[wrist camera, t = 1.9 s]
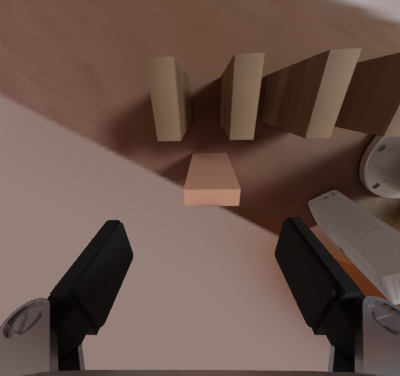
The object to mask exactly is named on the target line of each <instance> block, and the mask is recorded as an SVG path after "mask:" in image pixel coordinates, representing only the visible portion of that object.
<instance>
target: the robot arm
mask: <svg viewBox="0 0 400 376" xmlns="http://www.w3.org/2000/svg"><path fill="white" fill-rule="evenodd" d="M359 176H360V180H361V182H362V184H363V186H364V187H365V188H366V189H367V190H369V191H371V192H372V193H374V194H376V195H378V196H381V197H385V198H400V137H381V136H377V135H376V136H375V137H374V139H373V140H372V141H371V143H370V144H369V146H368V147H367V149H366V151H365V153H364V155H363V157H362V159H361V163H360V168H359ZM275 257H276V260H277V262H278V264H279V266H280V268H281V270H282V273H283V275H284V277H285V279H286V281H287V283H288V285H289V288H290V289H291V292H292V294H293V296H294V298H295V300H296V302H297V305H298V307H299V309H300V311H301V313H302V315H303V318H304V320H305V322H306V324H307V325H308V326H309V327H311V328H312V330H313V332H314V334H315V335H326V336H327V338H328V340H329V342H330V343H331V347H330V356H329V364H328V372H321V371H320V372H319V371H254V370H253V371H252V370H250V371H249V370H245V371H244V370H85V365H84V357H83V350H82V342H83V340H84V338H85V335H97V333H98V331H99V329H100V327H102V326H103V325H104V324H105V322H106V319H107V317H108V314H109V312H110V310H111V308H112V305H113V303H114V301H115V299H116V296H117V294H118V292H119V289H120V287H121V285H122V282H123V280H124V278H125V275H126V273H127V271H128V269H129V266H130V264H131V262H132V259H133V252H132V249H131V246H130V243H129V240H128V237H127V234H126V231H125V228H124V225H123V223H120V221H119V220H108V221H106V223H105V224H104V225H103V226H102V228H101V229H100V230H99V231H98V233H97V234H96V235H95V237H94V238H93V239H92V240H91V242H90V243H89V244H88V246H87V247H86V248H85V249H84V251H83V252H82V253H81V254H80V256H79V257H78V258H77V260H76V261H75V262H74V263H73V265H72V266H71V267H70V268H69V270H68V271H67V272H66V274H65V275H64V276H63V277H62V279H61V280H60V281H59V283H58V284H57V285H56V286H55V288H54V289H53V290H52V292H51V293H50V296H49V297H48V298H47V299H46V298H38V299H34V300H31V301H29V302H27V303H25V304H24V305H22V306H21V307H19V308H18V309H16V310H15V311H14V312H13V313H11V315H10V316H9V317H8V318H7V319H6V320H5V321H4V322H3V324H2V325H1V327H0V376H400V308H398V307H397V306H396V305H394V304H392V303H390V302H389V301H387V300H384V299H382V298H379V297H374V296H370V297H365V296H364V294H363V293H362V291H361V290H360V289H359V288H358V286H357V285H356V284H355V283H354V281H353V280H352V279H351V278H350V277H349V275H348V274H347V273H346V272H345V271H344V270H343V268H342V267H341V266H340V265H339V264H338V262H337V261H336V260H335V259H334V258H333V256H332V255H331V254H330V253H329V252H328V250H327V249H326V248H325V247H324V246H323V244H322V243H321V242H320V241H319V240H318V238H317V237H316V236H315V235H314V234H313V232H312V231H311V230H310V229H309V228H308V226H307V225H306V224H305V223H304V222H303V220H302V219H301V218H299V217H289V218H287V220H284V222H283V226H282V229H281V233H280V236H279V240H278V243H277V246H276V250H275Z"/></svg>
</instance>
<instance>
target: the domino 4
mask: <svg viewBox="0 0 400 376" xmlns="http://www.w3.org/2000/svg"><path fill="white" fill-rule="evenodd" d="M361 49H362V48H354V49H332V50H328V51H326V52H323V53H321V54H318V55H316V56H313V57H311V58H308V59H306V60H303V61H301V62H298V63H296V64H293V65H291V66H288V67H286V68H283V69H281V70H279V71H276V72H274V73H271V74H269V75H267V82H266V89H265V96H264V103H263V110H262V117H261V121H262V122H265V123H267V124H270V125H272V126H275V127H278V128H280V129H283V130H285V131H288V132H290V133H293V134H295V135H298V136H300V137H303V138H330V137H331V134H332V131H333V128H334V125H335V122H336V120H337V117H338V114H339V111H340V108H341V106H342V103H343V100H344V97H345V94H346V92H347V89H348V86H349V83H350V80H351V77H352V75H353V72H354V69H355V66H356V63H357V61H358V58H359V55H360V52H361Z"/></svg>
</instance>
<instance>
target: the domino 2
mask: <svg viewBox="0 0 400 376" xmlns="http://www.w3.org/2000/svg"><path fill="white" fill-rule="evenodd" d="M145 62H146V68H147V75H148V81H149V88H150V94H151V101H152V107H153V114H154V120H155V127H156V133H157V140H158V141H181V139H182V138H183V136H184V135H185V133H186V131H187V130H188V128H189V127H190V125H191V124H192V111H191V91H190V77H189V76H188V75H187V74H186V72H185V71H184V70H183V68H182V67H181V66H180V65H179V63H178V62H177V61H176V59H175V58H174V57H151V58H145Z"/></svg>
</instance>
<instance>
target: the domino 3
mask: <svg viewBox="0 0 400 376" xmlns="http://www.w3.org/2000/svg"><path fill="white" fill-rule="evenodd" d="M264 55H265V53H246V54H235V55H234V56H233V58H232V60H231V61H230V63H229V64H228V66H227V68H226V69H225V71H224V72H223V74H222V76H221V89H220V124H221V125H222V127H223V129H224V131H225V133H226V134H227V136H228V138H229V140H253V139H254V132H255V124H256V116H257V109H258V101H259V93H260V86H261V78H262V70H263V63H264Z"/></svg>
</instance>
